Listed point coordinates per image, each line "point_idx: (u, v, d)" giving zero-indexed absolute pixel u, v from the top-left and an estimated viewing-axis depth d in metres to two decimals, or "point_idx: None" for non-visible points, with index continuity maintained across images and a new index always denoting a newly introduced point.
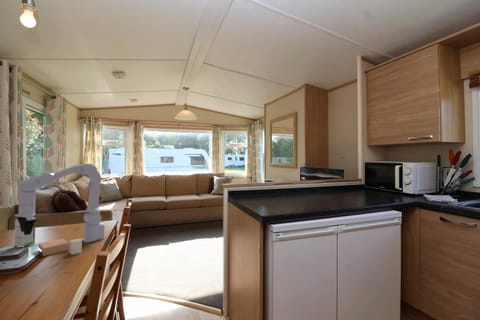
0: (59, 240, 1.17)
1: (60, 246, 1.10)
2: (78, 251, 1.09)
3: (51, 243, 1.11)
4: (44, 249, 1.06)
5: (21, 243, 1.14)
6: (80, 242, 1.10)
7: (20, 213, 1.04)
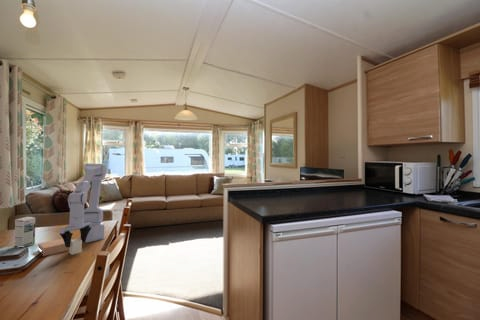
0: (59, 240, 1.17)
1: (60, 246, 1.10)
2: (78, 251, 1.09)
3: (51, 243, 1.11)
4: (44, 249, 1.06)
5: (21, 243, 1.14)
6: (80, 242, 1.10)
7: None
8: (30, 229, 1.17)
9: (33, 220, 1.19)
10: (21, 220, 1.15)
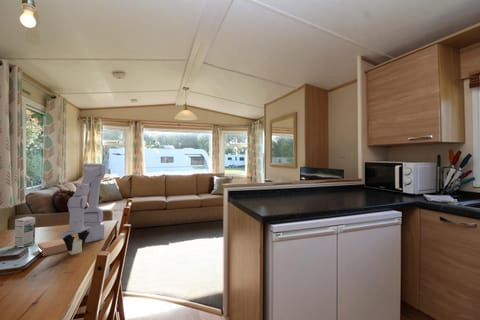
0: (58, 240, 1.17)
1: (60, 246, 1.10)
2: (78, 251, 1.09)
3: (51, 243, 1.11)
4: (44, 249, 1.06)
5: (21, 243, 1.14)
6: (80, 242, 1.10)
7: None
8: (30, 229, 1.17)
9: (33, 220, 1.19)
10: (21, 220, 1.15)
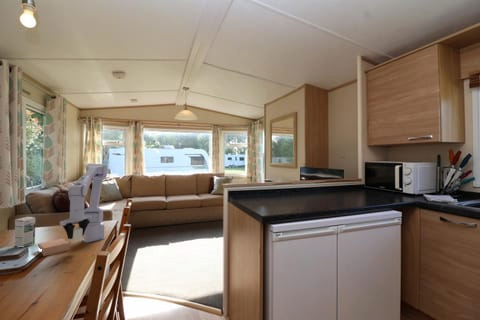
0: (58, 240, 1.17)
1: (60, 246, 1.10)
2: (78, 240, 1.10)
3: (51, 243, 1.11)
4: (45, 249, 1.06)
5: (21, 243, 1.14)
6: (81, 230, 1.10)
7: None
8: (30, 229, 1.17)
9: (33, 220, 1.19)
10: (21, 220, 1.15)
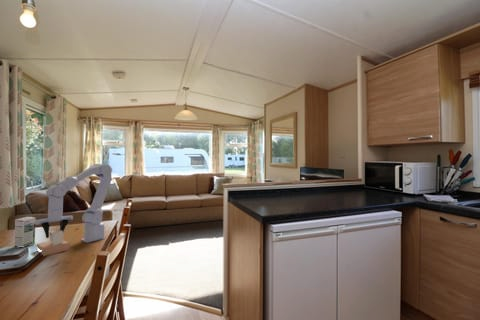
0: None
1: (59, 246, 1.10)
2: (60, 242, 1.11)
3: None
4: (44, 249, 1.06)
5: (21, 243, 1.14)
6: (61, 233, 1.12)
7: None
8: (30, 229, 1.17)
9: (33, 220, 1.19)
10: (21, 220, 1.15)
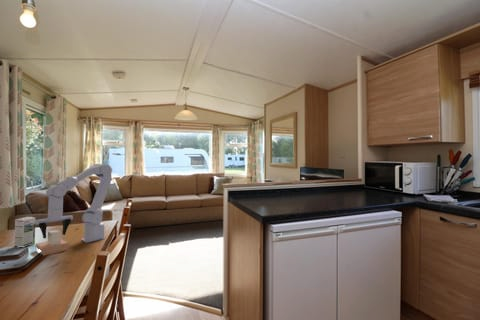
0: None
1: (59, 246, 1.11)
2: (57, 242, 1.11)
3: None
4: (43, 249, 1.06)
5: (21, 243, 1.14)
6: (59, 233, 1.12)
7: None
8: (30, 229, 1.17)
9: (33, 220, 1.19)
10: (21, 220, 1.15)
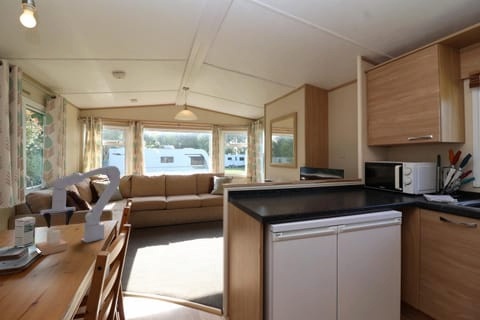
0: None
1: (58, 246, 1.11)
2: (57, 242, 1.12)
3: None
4: (42, 249, 1.06)
5: (21, 243, 1.14)
6: (59, 233, 1.13)
7: None
8: (30, 229, 1.17)
9: (33, 220, 1.19)
10: (21, 220, 1.15)
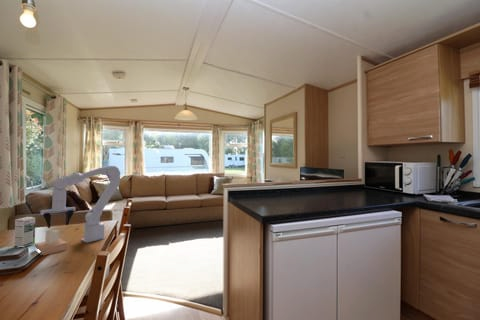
0: None
1: (58, 246, 1.11)
2: (55, 242, 1.12)
3: None
4: (42, 249, 1.06)
5: (21, 243, 1.14)
6: (57, 233, 1.13)
7: None
8: (30, 229, 1.17)
9: (33, 220, 1.19)
10: (21, 220, 1.15)
